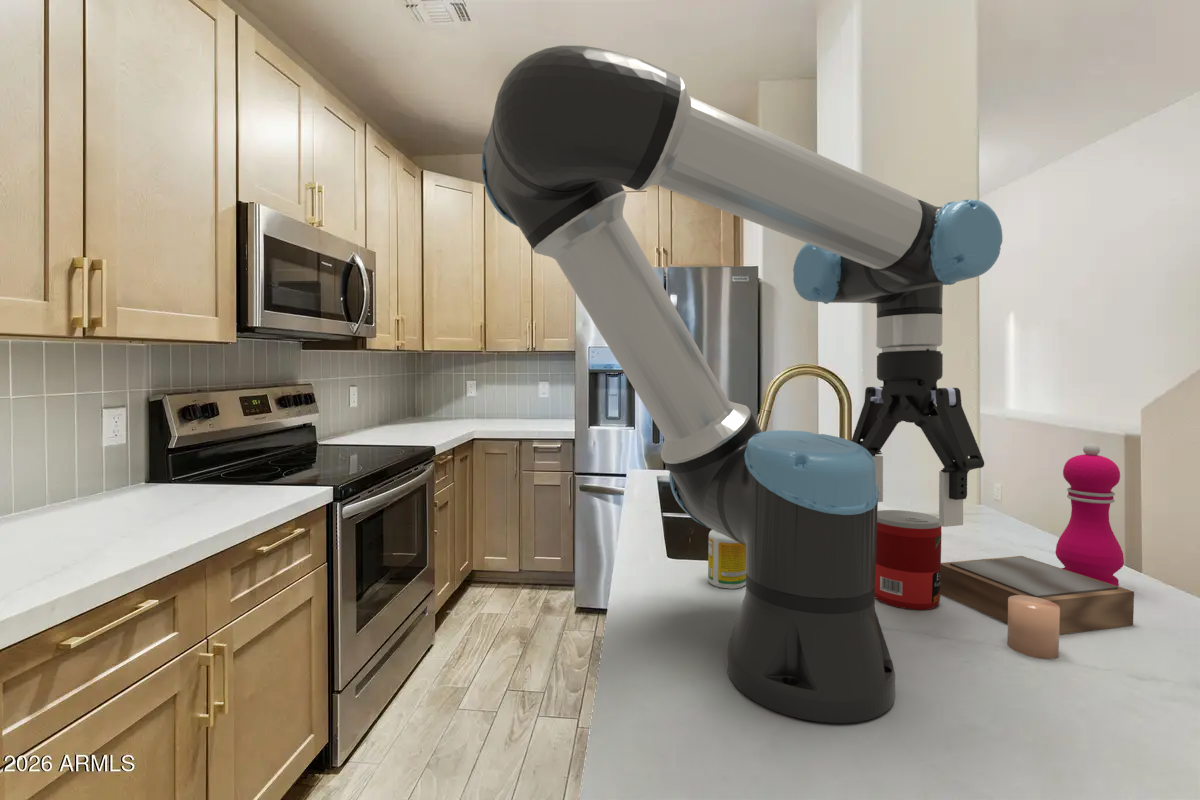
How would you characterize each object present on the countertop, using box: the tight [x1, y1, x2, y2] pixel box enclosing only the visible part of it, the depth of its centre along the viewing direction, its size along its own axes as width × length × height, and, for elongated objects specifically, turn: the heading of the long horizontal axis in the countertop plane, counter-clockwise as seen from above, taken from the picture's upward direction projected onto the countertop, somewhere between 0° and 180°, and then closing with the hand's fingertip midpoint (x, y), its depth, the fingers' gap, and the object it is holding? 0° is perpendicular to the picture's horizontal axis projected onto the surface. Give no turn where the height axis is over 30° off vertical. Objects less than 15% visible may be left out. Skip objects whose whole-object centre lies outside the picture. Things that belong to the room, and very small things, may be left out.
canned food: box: [875, 509, 942, 611], centre depth 75 cm, size 8×8×11 cm
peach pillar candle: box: [1006, 595, 1060, 660], centre depth 61 cm, size 4×4×5 cm
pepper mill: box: [1055, 443, 1125, 587], centre depth 79 cm, size 7×7×20 cm
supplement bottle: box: [707, 529, 746, 590], centre depth 81 cm, size 5×5×10 cm
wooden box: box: [940, 555, 1135, 636], centre depth 72 cm, size 14×14×4 cm
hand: (908, 512), depth 75 cm, fingers open, 13 cm apart
